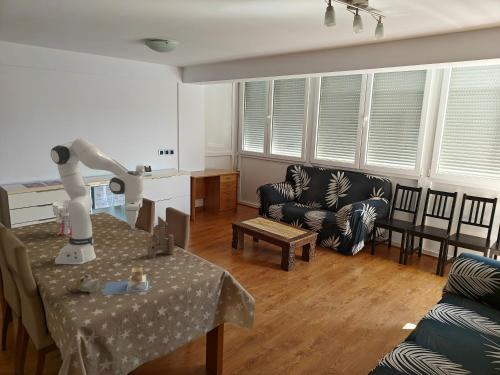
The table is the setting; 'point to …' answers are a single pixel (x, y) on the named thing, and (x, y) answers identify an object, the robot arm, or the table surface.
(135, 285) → the base block
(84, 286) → the ceramic sculpture
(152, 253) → the wooden toy
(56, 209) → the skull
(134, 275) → the oak cube
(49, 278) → the table surface
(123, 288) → the board
